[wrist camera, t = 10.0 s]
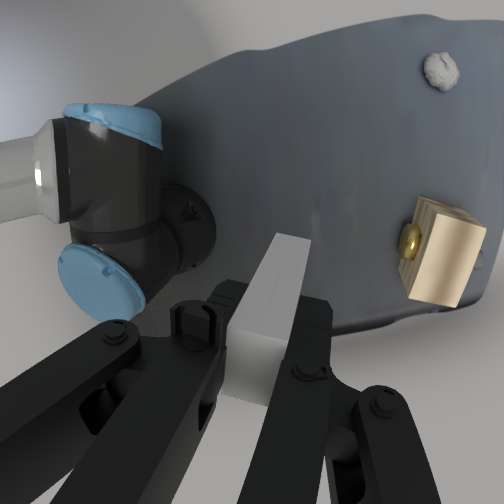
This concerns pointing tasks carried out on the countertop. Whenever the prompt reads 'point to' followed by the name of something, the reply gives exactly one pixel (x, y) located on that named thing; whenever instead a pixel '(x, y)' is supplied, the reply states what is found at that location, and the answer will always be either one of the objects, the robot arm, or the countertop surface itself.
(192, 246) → the robot arm
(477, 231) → the bore block
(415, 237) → the pin
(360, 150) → the countertop surface
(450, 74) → the garlic
